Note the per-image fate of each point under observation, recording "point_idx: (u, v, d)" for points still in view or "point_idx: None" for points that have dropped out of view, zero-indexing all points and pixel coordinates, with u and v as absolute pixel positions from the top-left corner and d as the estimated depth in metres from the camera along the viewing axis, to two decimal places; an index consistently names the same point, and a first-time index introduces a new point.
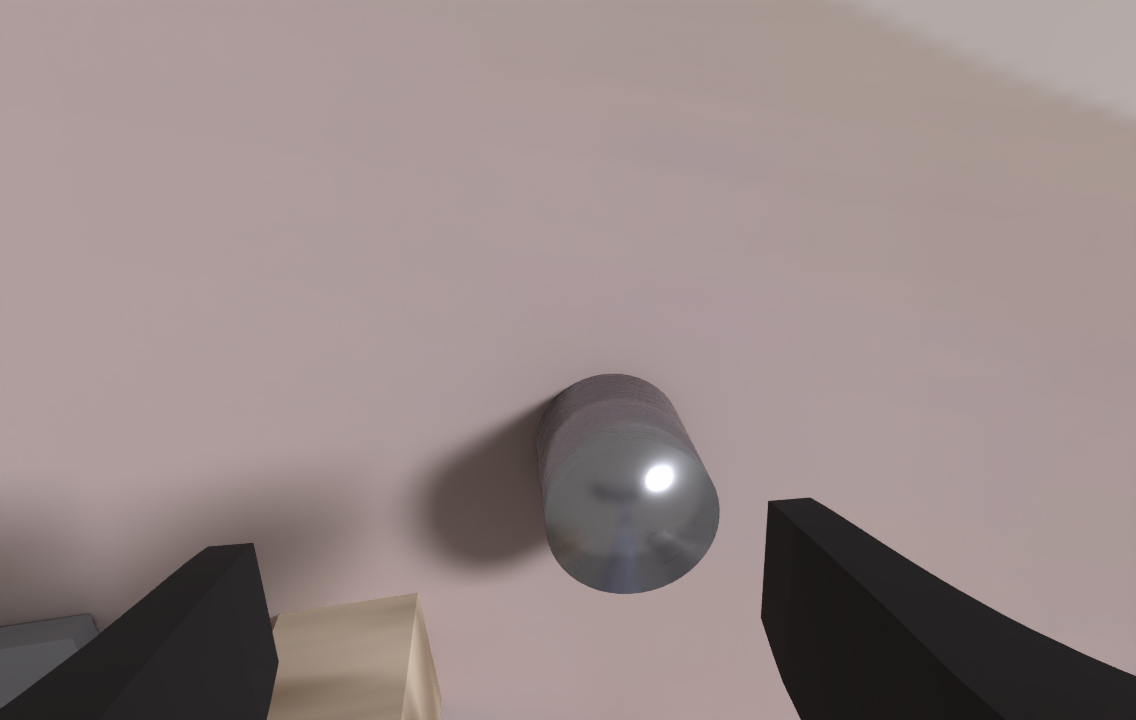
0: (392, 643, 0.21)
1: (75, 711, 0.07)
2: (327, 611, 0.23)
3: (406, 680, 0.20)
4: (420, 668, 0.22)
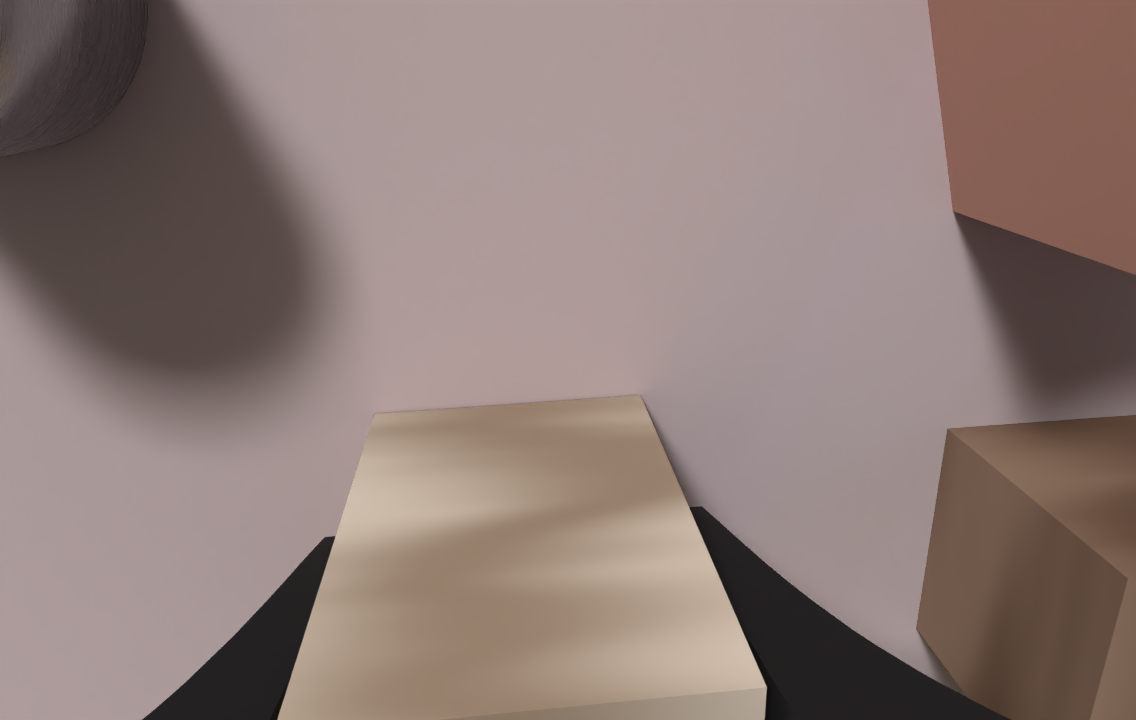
0: None
1: (251, 694, 0.07)
2: None
3: (334, 547, 0.09)
4: (446, 466, 0.10)
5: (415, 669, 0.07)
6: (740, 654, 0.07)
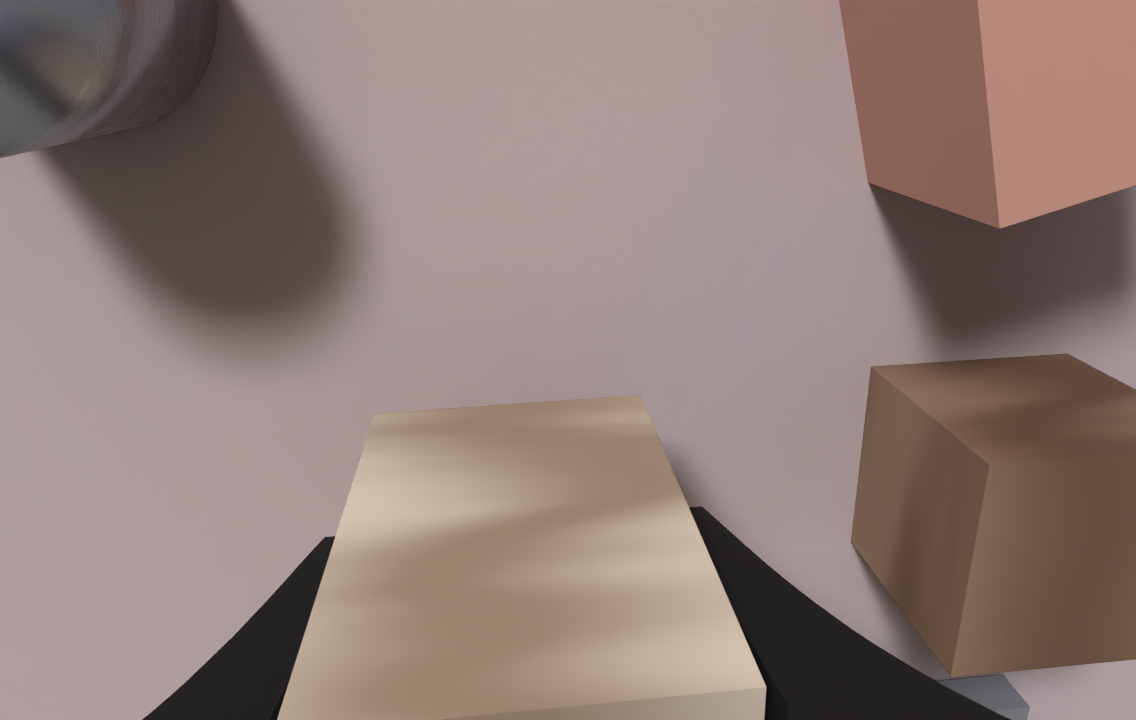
0: None
1: (251, 694, 0.07)
2: None
3: (334, 547, 0.09)
4: (446, 466, 0.10)
5: (415, 669, 0.07)
6: (740, 654, 0.07)
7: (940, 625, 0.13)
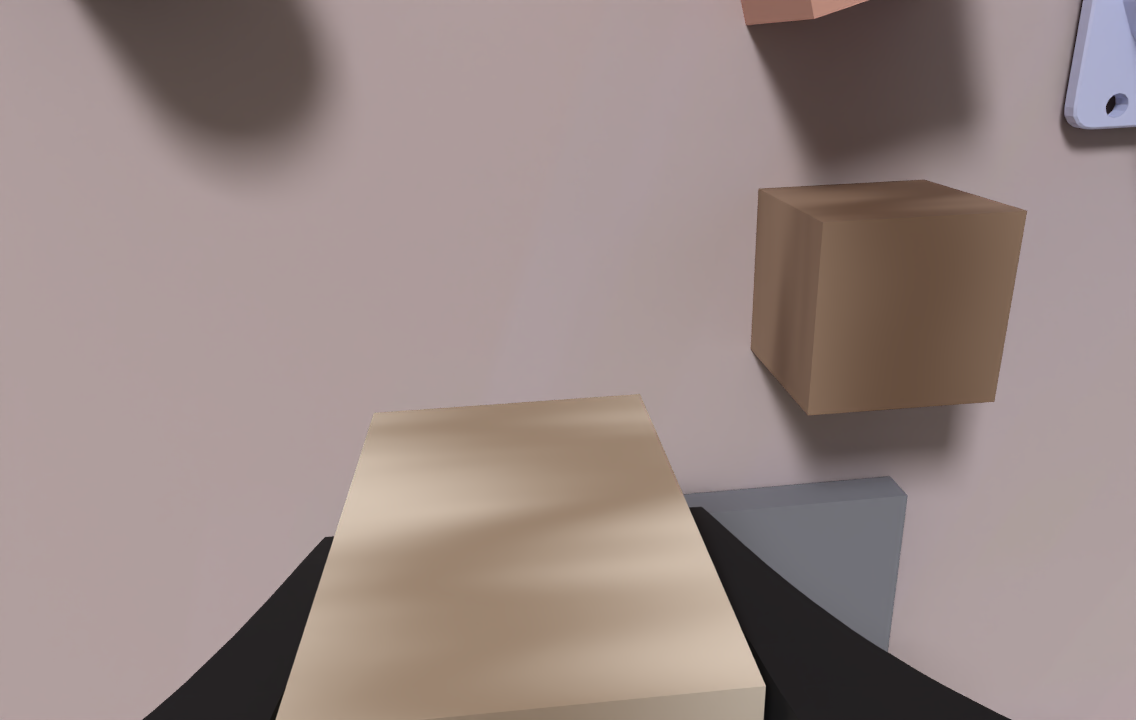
0: None
1: (252, 693, 0.07)
2: None
3: (333, 546, 0.09)
4: (445, 465, 0.10)
5: (414, 667, 0.07)
6: (739, 653, 0.07)
7: (801, 376, 0.17)
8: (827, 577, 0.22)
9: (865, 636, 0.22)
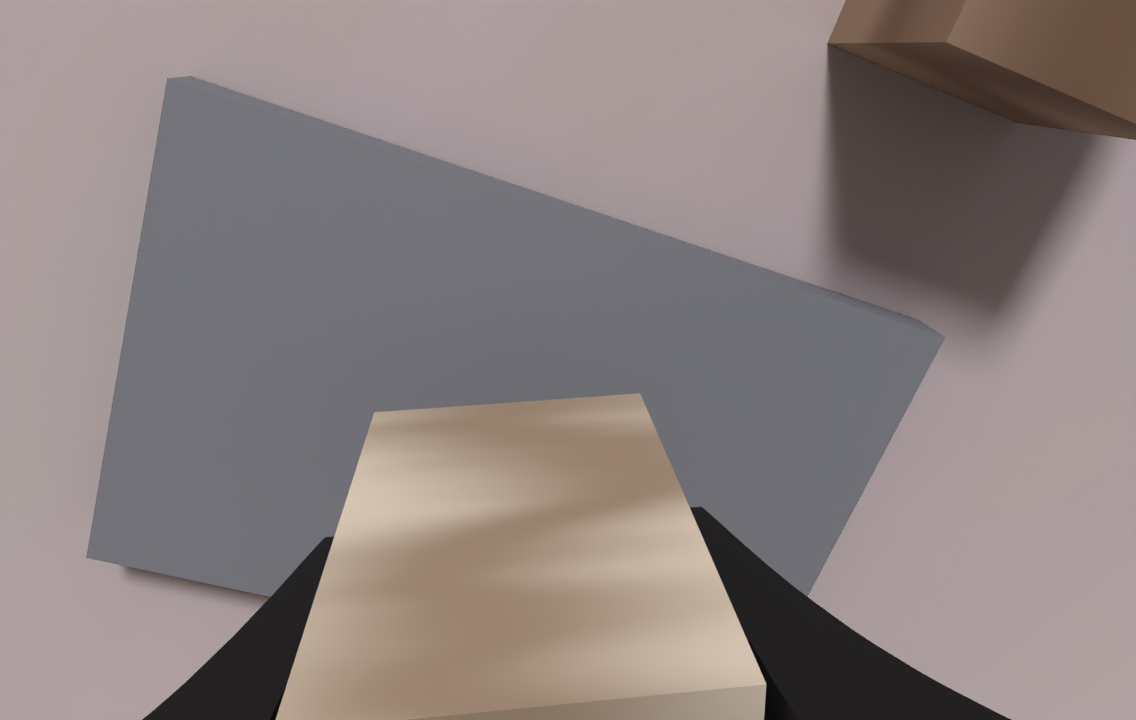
0: None
1: (251, 694, 0.07)
2: None
3: (333, 544, 0.09)
4: (446, 464, 0.10)
5: (415, 666, 0.07)
6: (740, 651, 0.07)
7: None
8: (798, 419, 0.15)
9: (809, 526, 0.16)
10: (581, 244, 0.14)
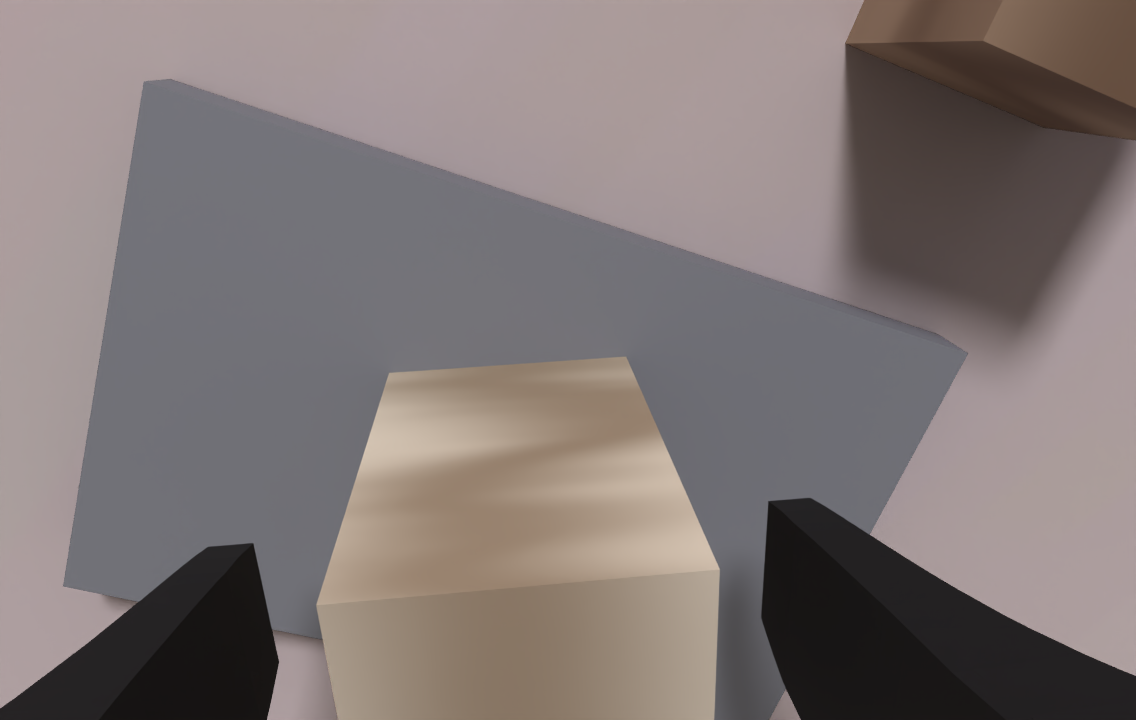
0: None
1: (76, 710, 0.07)
2: None
3: (359, 473, 0.10)
4: (454, 412, 0.12)
5: (431, 560, 0.08)
6: (700, 547, 0.08)
7: None
8: (813, 439, 0.15)
9: None
10: (585, 257, 0.13)
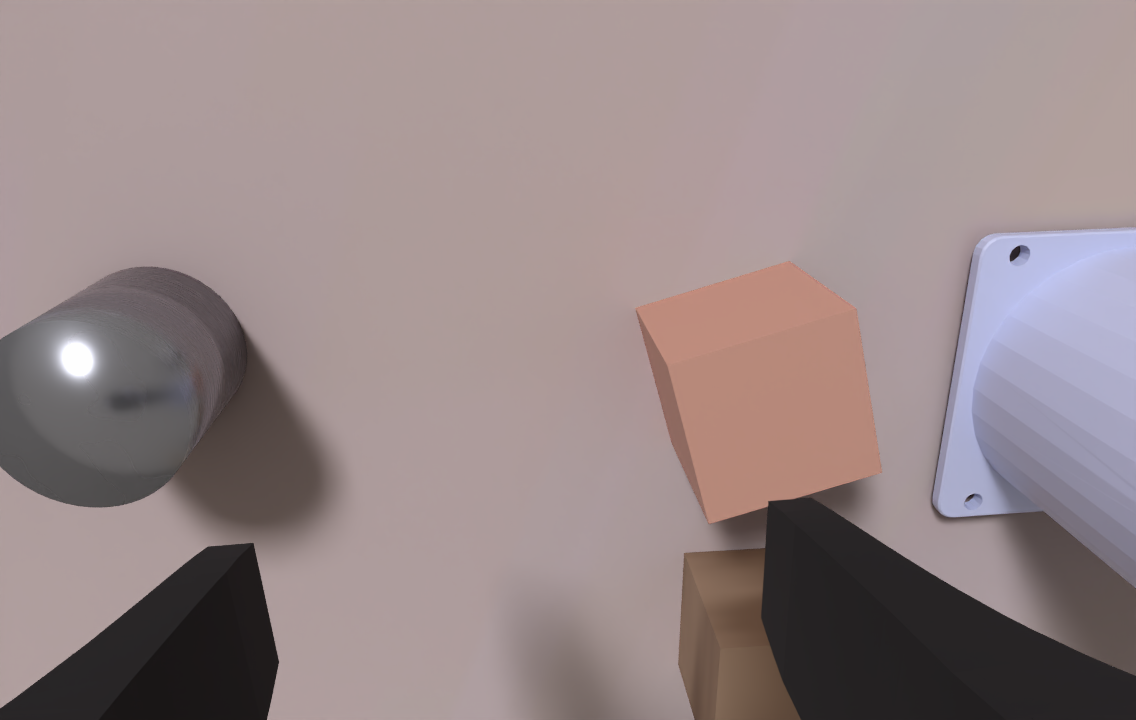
0: None
1: (76, 710, 0.07)
2: None
3: None
4: None
5: None
6: None
7: None
8: None
9: None
10: None
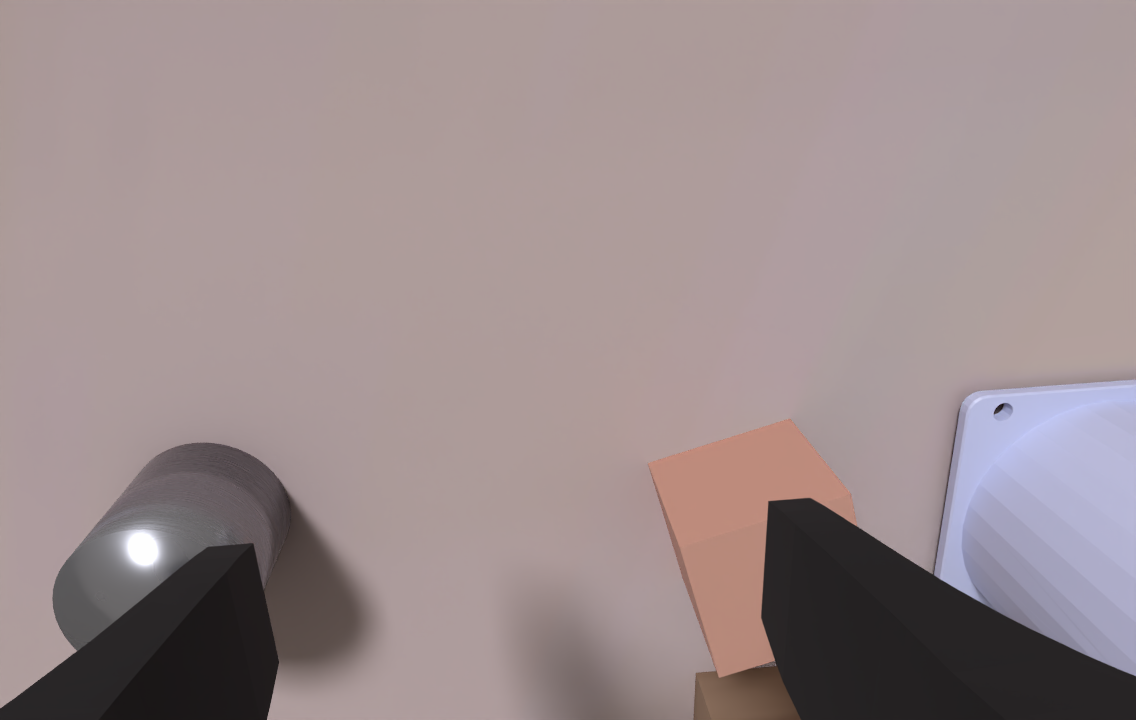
0: None
1: (76, 711, 0.07)
2: None
3: None
4: None
5: None
6: None
7: None
8: None
9: None
10: None
